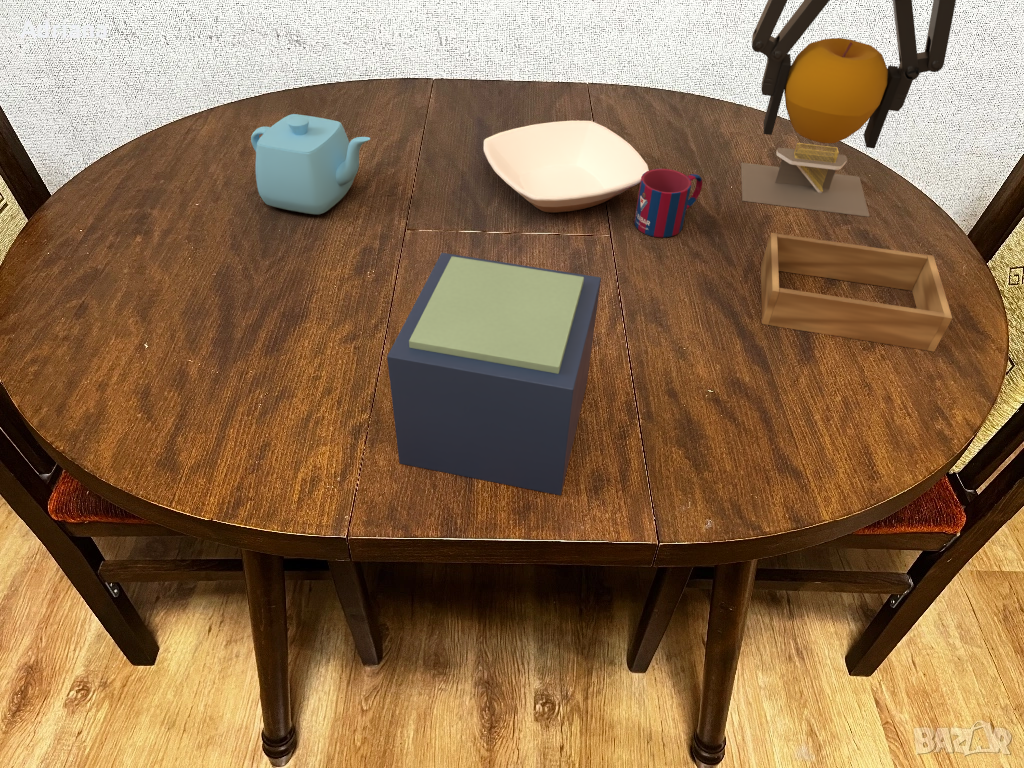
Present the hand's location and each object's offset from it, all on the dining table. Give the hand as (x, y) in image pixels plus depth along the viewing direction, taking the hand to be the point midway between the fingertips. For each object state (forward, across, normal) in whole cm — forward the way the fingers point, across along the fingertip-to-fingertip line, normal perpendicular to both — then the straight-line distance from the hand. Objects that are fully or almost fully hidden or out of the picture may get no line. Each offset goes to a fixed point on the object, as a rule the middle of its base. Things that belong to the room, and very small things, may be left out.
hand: (817, 134), depth 72 cm
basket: (+25, -11, -9) cm, 29 cm away
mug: (+25, +12, -22) cm, 36 cm away
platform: (+25, -7, -38) cm, 46 cm away
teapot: (+25, +61, -15) cm, 67 cm away
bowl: (+25, +28, -27) cm, 46 cm away
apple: (0, 0, 0) cm, 0 cm away
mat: (+11, +25, +21) cm, 35 cm away
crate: (+25, +25, +21) cm, 41 cm away
